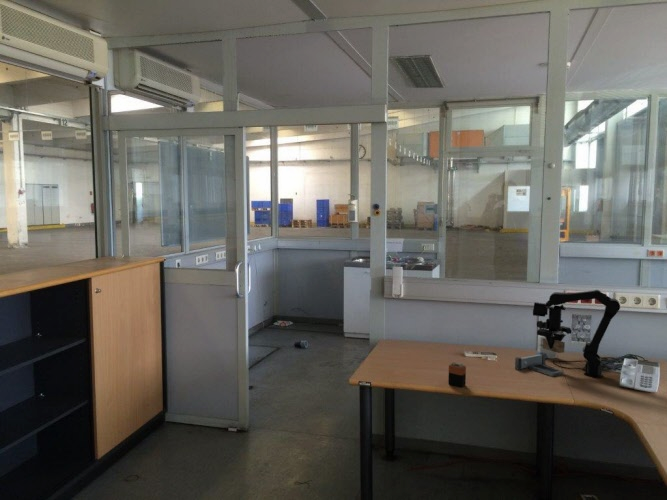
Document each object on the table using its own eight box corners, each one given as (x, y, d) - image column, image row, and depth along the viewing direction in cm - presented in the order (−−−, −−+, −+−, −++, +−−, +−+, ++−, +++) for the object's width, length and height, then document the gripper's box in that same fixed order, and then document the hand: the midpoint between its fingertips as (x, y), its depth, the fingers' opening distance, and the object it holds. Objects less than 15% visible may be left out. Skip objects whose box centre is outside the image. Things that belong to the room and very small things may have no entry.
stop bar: (564, 352, 251) (564, 342, 251) (559, 353, 250) (559, 343, 249) (547, 347, 260) (548, 337, 260) (542, 348, 259) (543, 338, 258)
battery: (452, 382, 236) (452, 361, 236) (465, 385, 232) (466, 364, 231) (447, 384, 233) (448, 363, 232) (461, 387, 229) (462, 366, 228)
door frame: (542, 363, 266) (542, 352, 266) (545, 364, 265) (545, 353, 264) (515, 369, 257) (515, 357, 256) (518, 370, 255) (518, 358, 254)
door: (539, 363, 265) (539, 354, 265) (543, 364, 263) (544, 355, 262) (518, 367, 257) (519, 358, 257) (522, 369, 255) (523, 359, 255)
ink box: (539, 358, 276) (540, 331, 275) (537, 355, 281) (537, 329, 280) (555, 358, 275) (557, 332, 274) (552, 356, 280) (553, 329, 279)
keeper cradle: (563, 374, 249) (563, 371, 248) (552, 376, 245) (552, 373, 245) (538, 366, 261) (538, 363, 261) (527, 368, 257) (528, 365, 257)
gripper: (554, 313, 265) (552, 342, 266) (528, 316, 257) (527, 346, 258) (572, 317, 255) (571, 347, 256) (547, 320, 247) (545, 351, 248)
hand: (553, 348), depth 255 cm, fingers closed on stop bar, 4 cm apart
